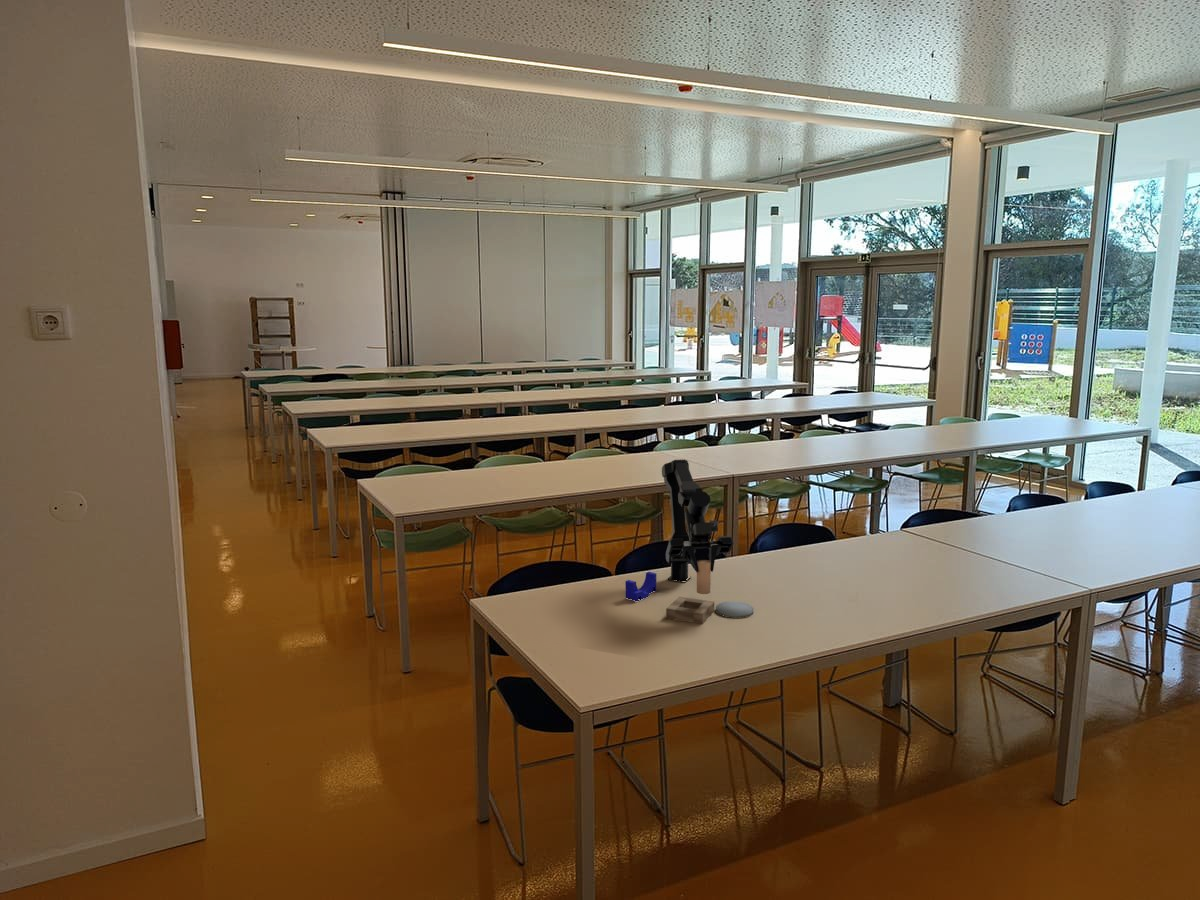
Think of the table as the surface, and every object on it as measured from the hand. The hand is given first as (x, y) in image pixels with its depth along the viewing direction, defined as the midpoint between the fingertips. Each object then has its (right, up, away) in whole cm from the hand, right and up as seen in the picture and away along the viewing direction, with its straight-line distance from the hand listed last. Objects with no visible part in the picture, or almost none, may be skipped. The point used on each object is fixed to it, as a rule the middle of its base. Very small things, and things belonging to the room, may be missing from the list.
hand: (704, 571), depth 235 cm
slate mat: (+10, -13, +6) cm, 17 cm away
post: (0, -6, +2) cm, 7 cm away
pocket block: (-4, -13, +3) cm, 14 cm away
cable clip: (-17, -11, +21) cm, 29 cm away
